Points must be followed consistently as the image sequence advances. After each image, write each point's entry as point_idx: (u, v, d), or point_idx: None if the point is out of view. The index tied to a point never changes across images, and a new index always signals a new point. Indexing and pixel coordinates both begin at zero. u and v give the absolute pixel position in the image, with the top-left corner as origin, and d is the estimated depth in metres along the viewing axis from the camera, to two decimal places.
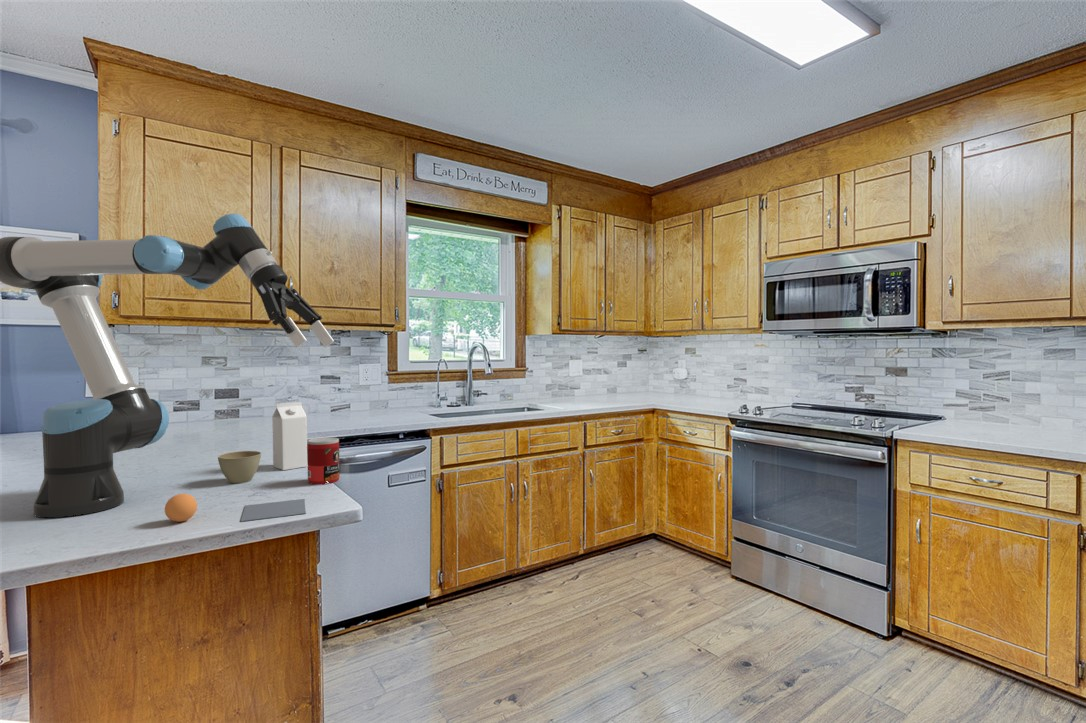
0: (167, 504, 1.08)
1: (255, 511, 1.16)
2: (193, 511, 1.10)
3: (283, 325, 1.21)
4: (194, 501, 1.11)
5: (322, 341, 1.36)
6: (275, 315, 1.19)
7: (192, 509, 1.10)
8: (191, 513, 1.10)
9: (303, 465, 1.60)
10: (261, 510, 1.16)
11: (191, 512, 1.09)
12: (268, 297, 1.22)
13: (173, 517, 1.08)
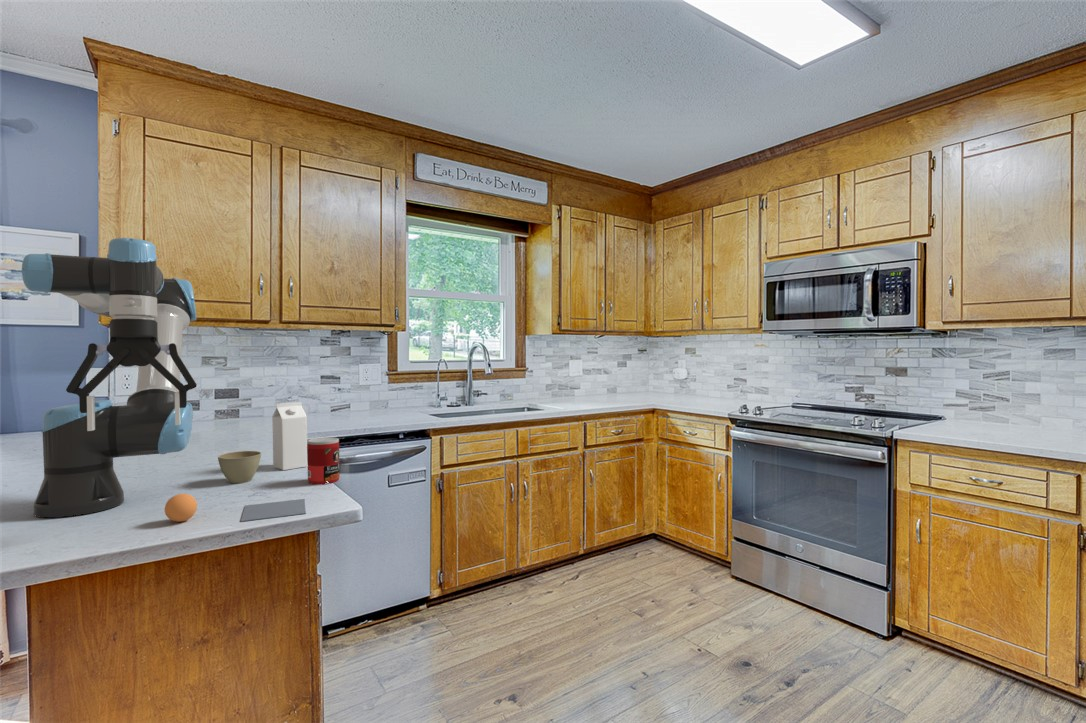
0: (167, 504, 1.08)
1: (255, 511, 1.16)
2: (193, 511, 1.10)
3: None
4: (194, 501, 1.11)
5: None
6: None
7: (192, 509, 1.10)
8: (191, 513, 1.10)
9: (303, 465, 1.60)
10: (261, 510, 1.16)
11: (191, 512, 1.09)
12: (82, 364, 1.02)
13: (173, 517, 1.08)
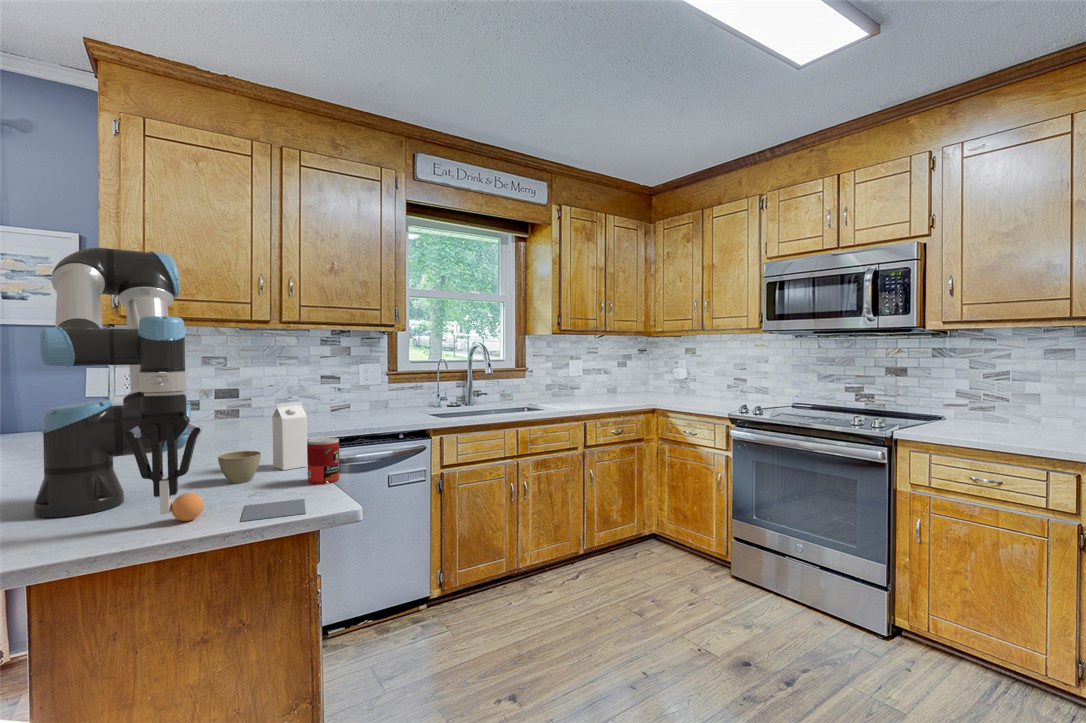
0: (176, 501, 1.09)
1: (255, 511, 1.16)
2: (198, 514, 1.10)
3: None
4: (202, 504, 1.11)
5: None
6: None
7: (198, 511, 1.10)
8: (195, 515, 1.10)
9: (303, 465, 1.60)
10: (261, 510, 1.16)
11: (196, 514, 1.10)
12: None
13: (178, 515, 1.08)
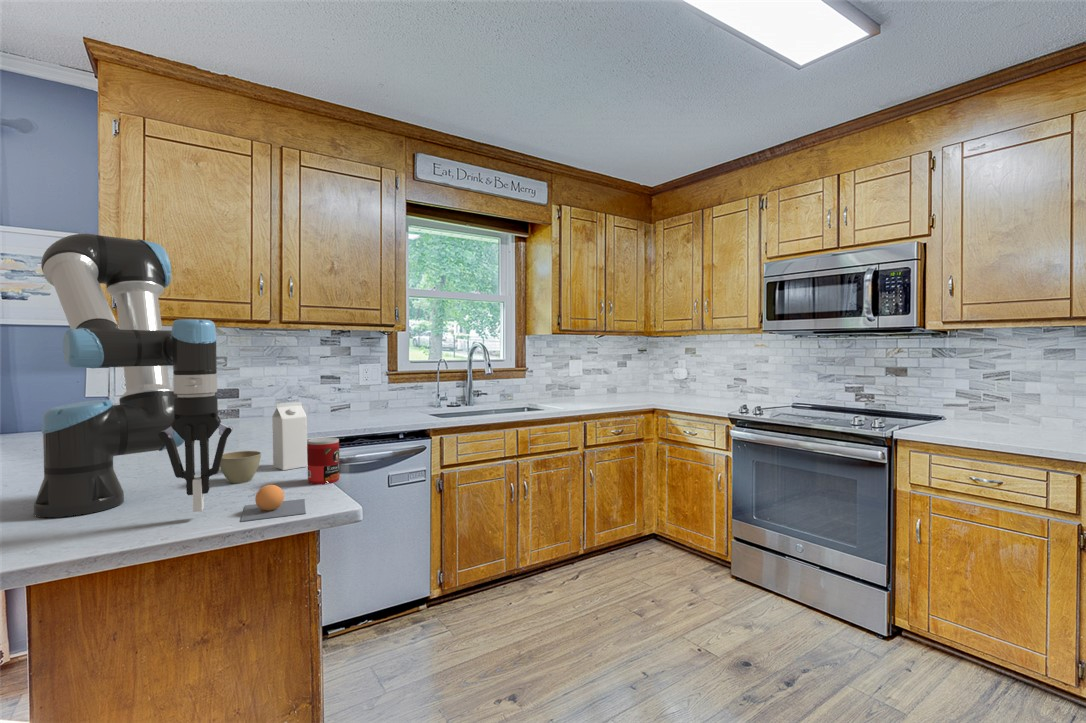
0: (257, 502, 1.15)
1: (255, 511, 1.16)
2: (281, 494, 1.17)
3: None
4: (275, 486, 1.17)
5: None
6: None
7: (279, 493, 1.16)
8: (281, 496, 1.17)
9: (303, 465, 1.60)
10: (261, 510, 1.16)
11: (280, 495, 1.16)
12: None
13: (269, 507, 1.15)
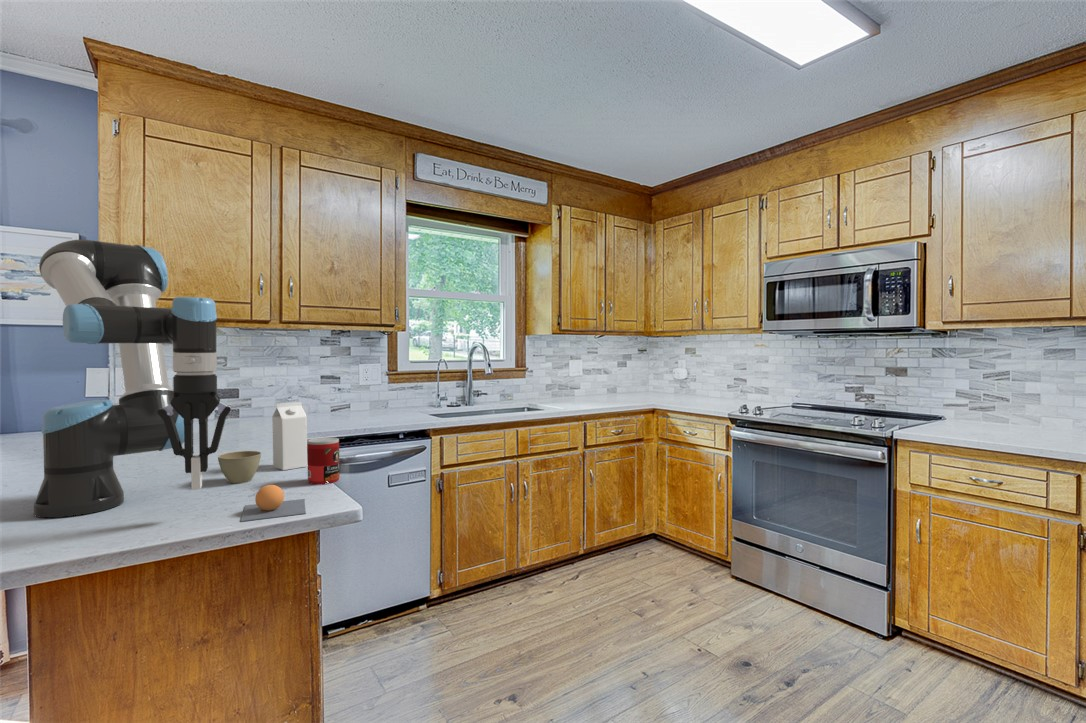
0: (257, 502, 1.15)
1: (255, 511, 1.16)
2: (281, 494, 1.17)
3: None
4: (275, 486, 1.17)
5: None
6: None
7: (279, 493, 1.16)
8: (281, 496, 1.17)
9: (303, 465, 1.60)
10: (261, 510, 1.16)
11: (280, 495, 1.16)
12: None
13: (269, 507, 1.15)
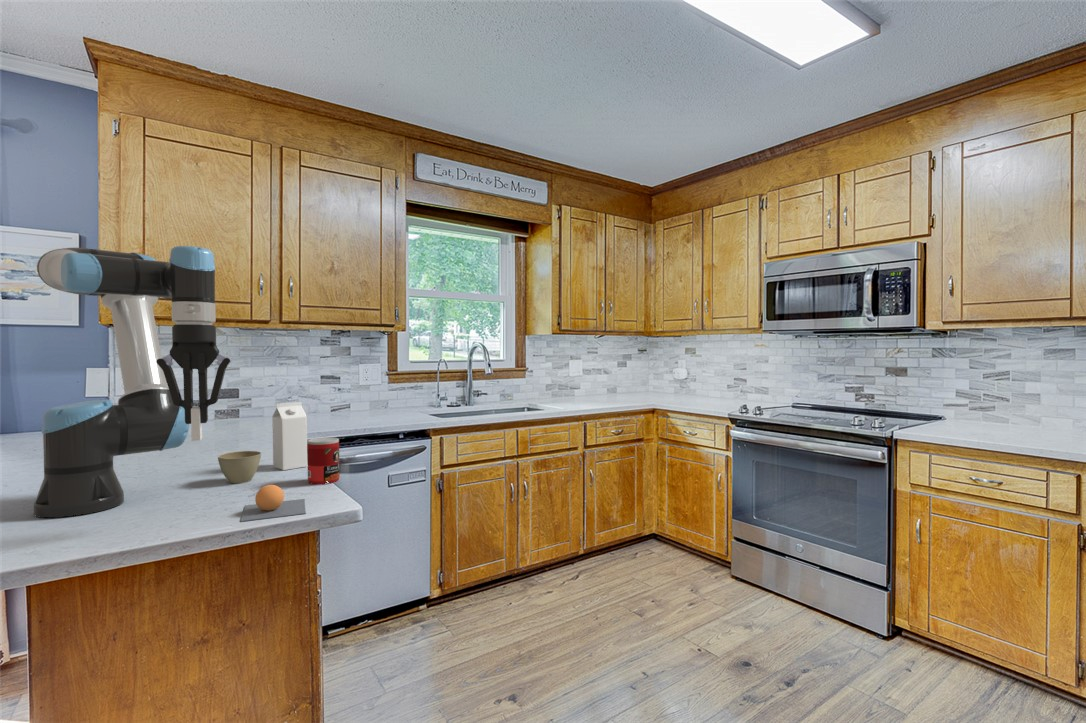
0: (257, 502, 1.15)
1: (255, 511, 1.16)
2: (281, 494, 1.17)
3: None
4: (275, 486, 1.17)
5: None
6: None
7: (279, 493, 1.16)
8: (281, 496, 1.17)
9: (303, 465, 1.60)
10: (261, 510, 1.16)
11: (280, 495, 1.16)
12: None
13: (269, 507, 1.15)
